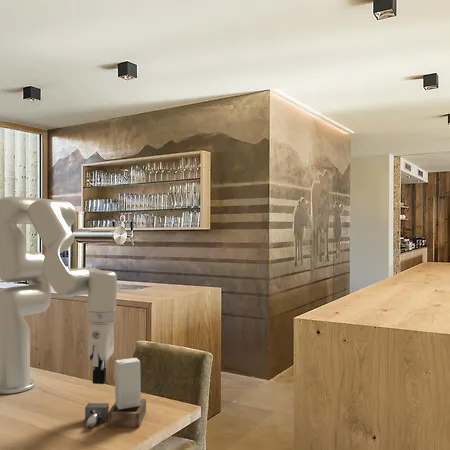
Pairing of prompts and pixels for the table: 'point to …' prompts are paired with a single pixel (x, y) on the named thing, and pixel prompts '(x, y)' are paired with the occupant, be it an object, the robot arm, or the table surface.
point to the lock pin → (93, 419)
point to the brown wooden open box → (127, 416)
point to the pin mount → (97, 407)
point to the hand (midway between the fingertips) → (99, 382)
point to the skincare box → (127, 383)
